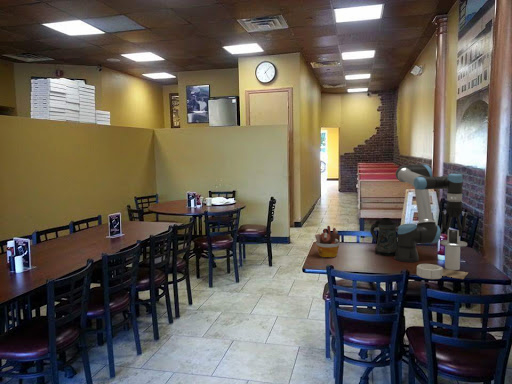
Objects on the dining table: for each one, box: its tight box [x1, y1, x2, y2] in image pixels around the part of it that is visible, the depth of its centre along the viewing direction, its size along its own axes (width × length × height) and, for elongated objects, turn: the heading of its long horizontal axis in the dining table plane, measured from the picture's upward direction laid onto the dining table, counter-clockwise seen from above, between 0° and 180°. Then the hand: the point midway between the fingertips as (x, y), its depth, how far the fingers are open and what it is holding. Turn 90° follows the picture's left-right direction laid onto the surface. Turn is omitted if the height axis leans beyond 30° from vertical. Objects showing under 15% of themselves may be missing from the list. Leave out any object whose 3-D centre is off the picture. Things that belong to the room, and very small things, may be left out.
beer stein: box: [369, 217, 398, 257], centre depth 283 cm, size 16×19×25 cm
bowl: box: [416, 263, 444, 280], centre depth 233 cm, size 13×13×5 cm
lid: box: [439, 229, 468, 248], centre depth 233 cm, size 14×14×8 cm
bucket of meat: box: [314, 225, 341, 258], centre depth 280 cm, size 20×16×20 cm
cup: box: [444, 245, 461, 271], centre depth 246 cm, size 8×8×16 cm
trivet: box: [443, 268, 469, 280], centre depth 235 cm, size 14×14×1 cm
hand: (453, 241), depth 233 cm, fingers closed on lid, 4 cm apart
